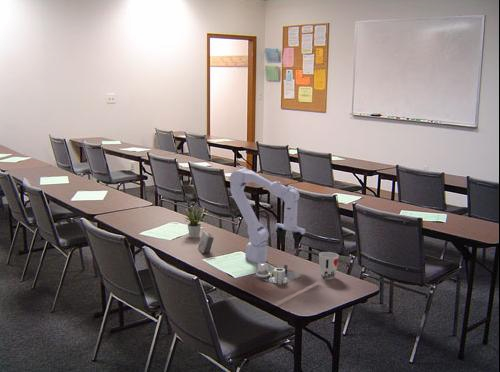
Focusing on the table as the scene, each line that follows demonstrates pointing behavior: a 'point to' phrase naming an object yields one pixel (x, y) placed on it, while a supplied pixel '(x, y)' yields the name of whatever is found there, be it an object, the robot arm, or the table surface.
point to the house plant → (194, 222)
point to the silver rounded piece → (262, 270)
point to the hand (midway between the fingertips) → (289, 246)
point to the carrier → (288, 275)
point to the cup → (328, 264)
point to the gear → (279, 276)
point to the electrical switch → (205, 242)
